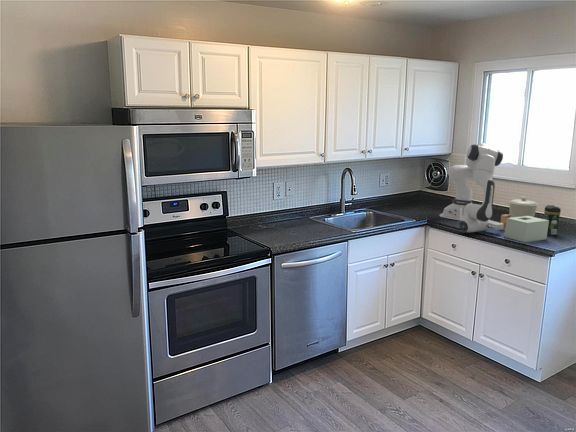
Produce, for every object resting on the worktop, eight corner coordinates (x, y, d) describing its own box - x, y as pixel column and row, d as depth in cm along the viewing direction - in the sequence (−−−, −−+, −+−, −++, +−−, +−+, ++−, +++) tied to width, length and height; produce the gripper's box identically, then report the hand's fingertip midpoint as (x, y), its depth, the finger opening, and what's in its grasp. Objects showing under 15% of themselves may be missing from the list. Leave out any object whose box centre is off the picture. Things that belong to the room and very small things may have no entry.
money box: (524, 242, 274) (527, 222, 272) (504, 236, 287) (506, 218, 284) (546, 239, 283) (549, 220, 281) (525, 234, 296) (528, 215, 293)
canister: (532, 225, 323) (536, 195, 319) (537, 230, 306) (541, 199, 302) (504, 222, 328) (507, 193, 324) (507, 228, 311) (511, 197, 307)
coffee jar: (539, 231, 303) (543, 204, 299) (551, 232, 302) (556, 204, 299) (545, 235, 294) (550, 206, 290) (558, 236, 293) (563, 207, 289)
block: (503, 230, 304) (505, 215, 302) (499, 229, 307) (501, 214, 304) (509, 229, 307) (511, 215, 305) (505, 228, 309) (507, 214, 307)
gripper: (495, 222, 286) (510, 221, 292) (469, 216, 304) (484, 214, 310) (494, 232, 287) (509, 231, 293) (468, 225, 305) (483, 223, 311)
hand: (496, 222), depth 302 cm, fingers open, 8 cm apart
